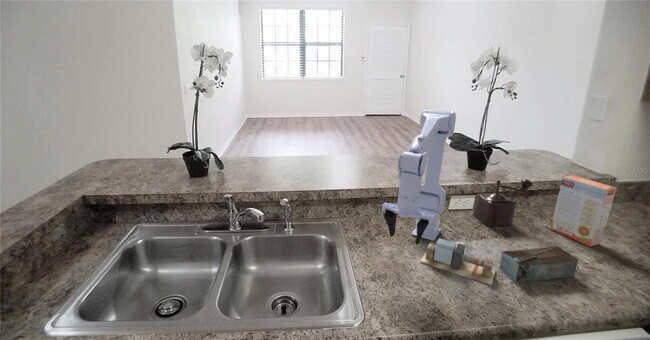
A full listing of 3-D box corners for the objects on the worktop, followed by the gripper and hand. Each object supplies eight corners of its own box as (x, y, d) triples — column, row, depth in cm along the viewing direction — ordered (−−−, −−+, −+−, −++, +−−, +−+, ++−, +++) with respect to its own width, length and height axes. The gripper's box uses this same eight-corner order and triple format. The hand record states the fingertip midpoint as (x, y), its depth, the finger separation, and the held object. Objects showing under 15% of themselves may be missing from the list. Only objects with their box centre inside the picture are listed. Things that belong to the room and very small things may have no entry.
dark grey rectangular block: (451, 267, 98) (454, 251, 97) (455, 258, 103) (458, 243, 101) (458, 269, 97) (461, 253, 96) (462, 261, 102) (465, 245, 100)
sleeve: (433, 259, 101) (435, 243, 100) (437, 252, 105) (439, 237, 103) (450, 265, 99) (453, 248, 97) (454, 257, 103) (456, 241, 101)
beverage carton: (497, 267, 101) (500, 248, 99) (553, 262, 104) (558, 244, 102) (515, 283, 93) (519, 263, 91) (575, 278, 96) (581, 258, 94)
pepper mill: (487, 227, 125) (495, 182, 119) (472, 214, 135) (479, 172, 130) (526, 226, 126) (536, 181, 121) (508, 213, 137) (516, 171, 131)
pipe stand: (420, 262, 102) (421, 249, 101) (427, 250, 109) (429, 238, 107) (491, 285, 92) (494, 271, 91) (495, 270, 98) (498, 257, 97)
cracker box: (601, 244, 114) (618, 187, 108) (589, 247, 112) (606, 189, 106) (560, 226, 126) (573, 174, 120) (549, 229, 124) (562, 176, 118)
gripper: (378, 193, 92) (375, 237, 96) (431, 206, 85) (425, 252, 89) (388, 186, 98) (385, 227, 102) (439, 197, 90) (433, 241, 95)
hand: (404, 238), depth 96 cm, fingers open, 7 cm apart
